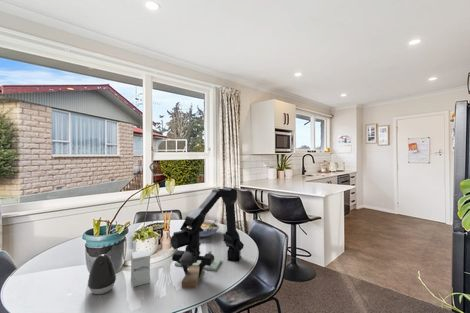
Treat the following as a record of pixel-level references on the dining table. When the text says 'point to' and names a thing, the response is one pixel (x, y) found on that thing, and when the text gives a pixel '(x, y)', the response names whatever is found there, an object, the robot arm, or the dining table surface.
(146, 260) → the supplement box
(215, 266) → the peg base
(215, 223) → the ramen bowl
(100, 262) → the tapered speaker
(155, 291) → the dining table surface
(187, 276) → the brown rectangular block
